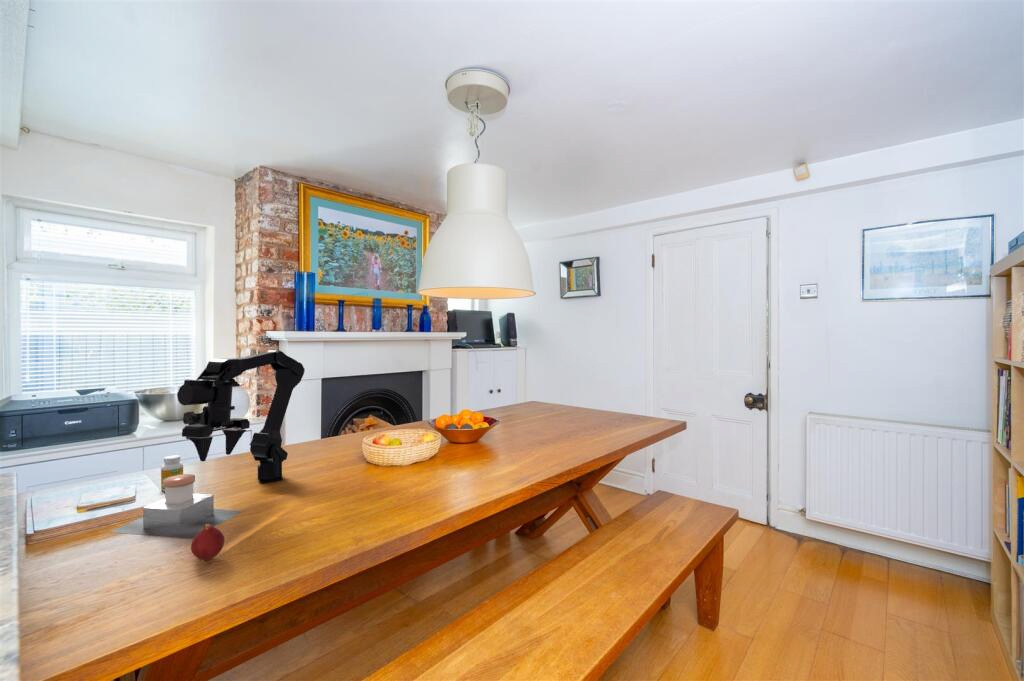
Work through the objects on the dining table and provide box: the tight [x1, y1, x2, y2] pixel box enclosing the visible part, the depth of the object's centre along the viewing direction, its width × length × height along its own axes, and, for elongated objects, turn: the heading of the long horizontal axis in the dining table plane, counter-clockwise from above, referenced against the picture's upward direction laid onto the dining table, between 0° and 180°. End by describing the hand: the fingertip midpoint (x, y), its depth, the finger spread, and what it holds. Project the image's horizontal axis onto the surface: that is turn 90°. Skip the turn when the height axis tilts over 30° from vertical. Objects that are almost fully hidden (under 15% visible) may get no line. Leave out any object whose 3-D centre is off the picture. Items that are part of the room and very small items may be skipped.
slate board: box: [108, 508, 243, 540], centre depth 112 cm, size 16×22×1 cm
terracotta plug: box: [163, 473, 196, 505], centre depth 112 cm, size 6×6×7 cm
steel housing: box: [142, 492, 215, 531], centre depth 112 cm, size 10×10×5 cm
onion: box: [190, 524, 225, 563], centre depth 95 cm, size 6×6×8 cm
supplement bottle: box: [160, 454, 184, 492], centre depth 137 cm, size 5×5×10 cm
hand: (215, 457), depth 128 cm, fingers open, 9 cm apart
